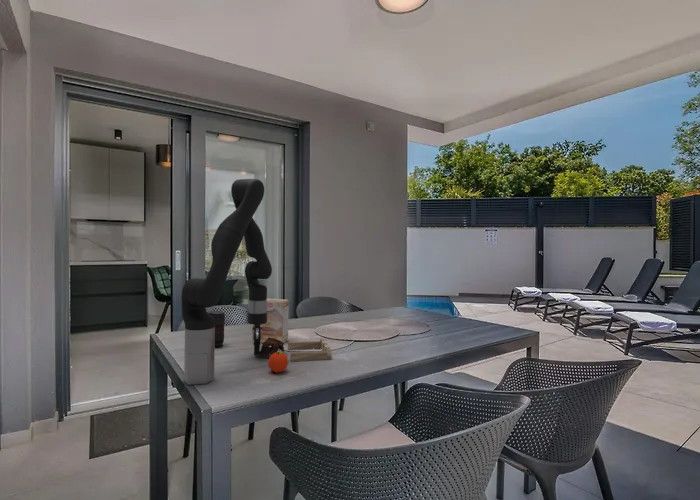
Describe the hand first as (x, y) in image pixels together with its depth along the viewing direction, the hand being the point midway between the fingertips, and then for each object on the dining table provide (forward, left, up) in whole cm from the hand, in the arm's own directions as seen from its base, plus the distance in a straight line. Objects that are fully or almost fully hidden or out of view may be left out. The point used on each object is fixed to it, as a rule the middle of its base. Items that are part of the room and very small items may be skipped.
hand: (256, 354), depth 155 cm
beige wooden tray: (0, -20, -1) cm, 20 cm away
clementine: (-20, -8, -1) cm, 22 cm away
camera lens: (+19, +18, -1) cm, 26 cm away
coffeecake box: (+24, -6, -1) cm, 25 cm away
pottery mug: (0, -6, -1) cm, 6 cm away
